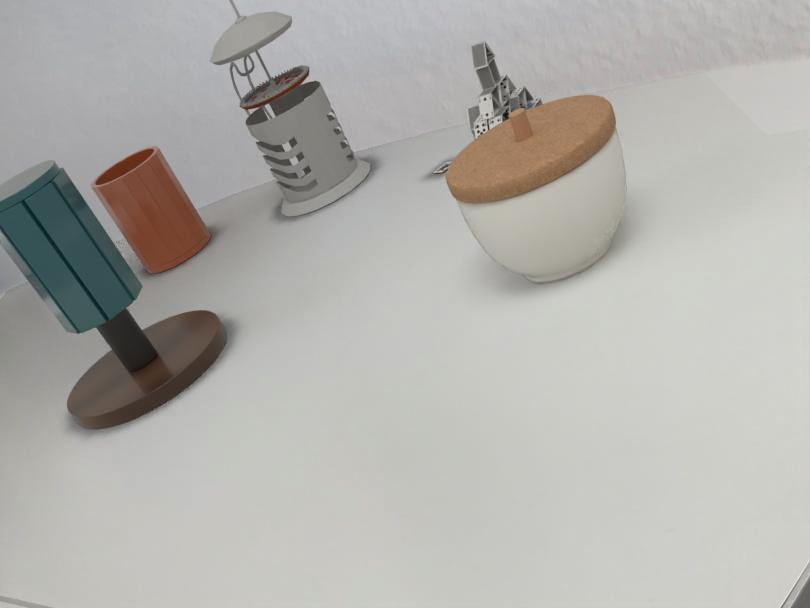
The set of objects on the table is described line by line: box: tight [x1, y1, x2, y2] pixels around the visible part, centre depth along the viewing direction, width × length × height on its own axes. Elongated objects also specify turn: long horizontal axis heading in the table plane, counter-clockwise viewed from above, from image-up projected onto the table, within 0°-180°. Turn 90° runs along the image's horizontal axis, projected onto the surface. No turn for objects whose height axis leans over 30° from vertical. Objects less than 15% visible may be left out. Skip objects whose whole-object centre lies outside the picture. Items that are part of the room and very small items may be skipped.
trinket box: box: [445, 94, 628, 284], centre depth 62 cm, size 11×11×9 cm
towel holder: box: [66, 307, 228, 430], centre depth 75 cm, size 14×14×15 cm
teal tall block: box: [0, 159, 143, 335], centre depth 73 cm, size 6×6×10 cm
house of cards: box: [433, 40, 543, 174], centre depth 83 cm, size 9×9×8 cm
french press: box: [209, 0, 371, 217], centre depth 88 cm, size 10×12×25 cm
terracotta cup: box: [90, 145, 212, 274], centre depth 97 cm, size 7×7×9 cm
